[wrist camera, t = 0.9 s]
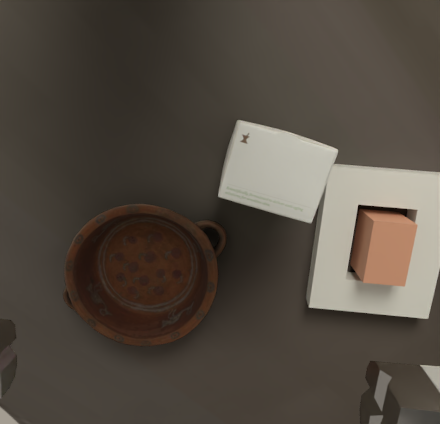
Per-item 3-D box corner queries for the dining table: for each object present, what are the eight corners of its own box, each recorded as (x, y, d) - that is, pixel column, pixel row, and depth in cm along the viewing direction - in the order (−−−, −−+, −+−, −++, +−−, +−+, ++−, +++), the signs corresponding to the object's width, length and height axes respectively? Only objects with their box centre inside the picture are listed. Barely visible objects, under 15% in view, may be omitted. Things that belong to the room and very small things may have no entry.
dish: (258, 285, 50) (260, 304, 45) (111, 351, 54) (98, 375, 49) (193, 162, 47) (187, 168, 42) (41, 241, 50) (19, 255, 46)
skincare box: (221, 170, 46) (210, 198, 31) (237, 114, 45) (234, 116, 30) (289, 191, 47) (311, 228, 32) (308, 136, 45) (341, 148, 30)
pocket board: (324, 163, 46) (329, 165, 43) (448, 173, 45) (460, 176, 43) (305, 297, 50) (308, 307, 47) (419, 308, 49) (428, 318, 47)
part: (359, 208, 47) (374, 220, 41) (397, 211, 47) (417, 224, 41) (349, 263, 48) (363, 282, 43) (387, 267, 48) (404, 286, 43)
